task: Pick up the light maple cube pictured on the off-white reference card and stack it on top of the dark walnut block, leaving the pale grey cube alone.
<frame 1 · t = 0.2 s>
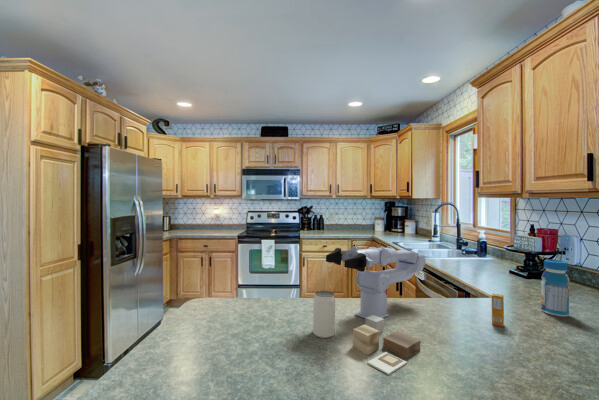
hand: (335, 261, 88), 21 cm above the countertop, tool horizontal, fingers open, 7 cm apart
supplement bottle: (554, 313, 110), on the countertop
maple cube: (365, 348, 78), on the countertop
supplement box: (497, 325, 97), on the countertop
reference card: (387, 363, 70), on the countertop
can: (323, 334, 86), on the countertop
walnut block: (401, 349, 78), on the countertop
grey cube: (374, 331, 89), on the countertop
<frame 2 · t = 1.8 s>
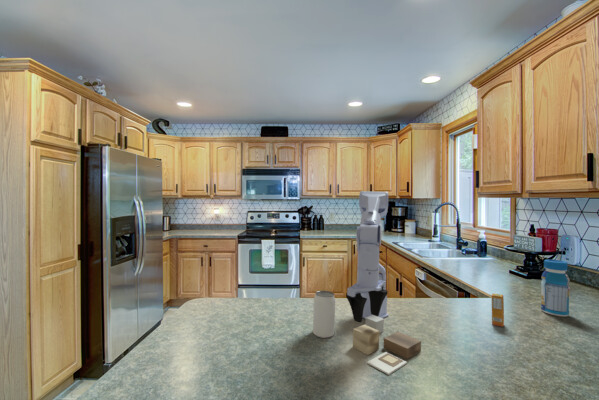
hand: (366, 318, 78), 8 cm above the countertop, tool pointing down, fingers open, 7 cm apart
nothing on the countertop moved.
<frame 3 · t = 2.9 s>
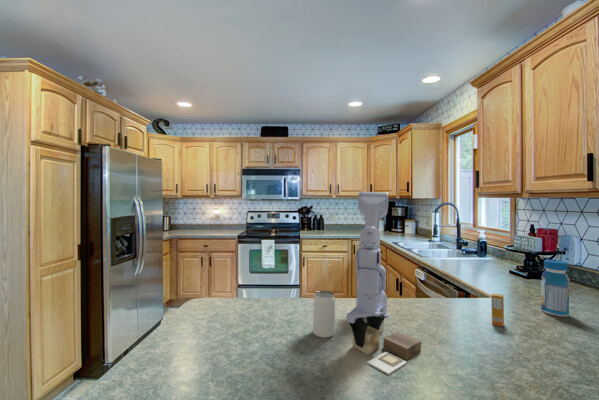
hand: (365, 342, 78), 1 cm above the countertop, tool pointing down, fingers closed on maple cube, 5 cm apart
maple cube: (365, 347, 78), on the countertop, touching gripper
everything else where it was.
when the fingers open (5 cm above the countertop, at t = 6.7 s): maple cube drops 1 cm, resting on walnut block.
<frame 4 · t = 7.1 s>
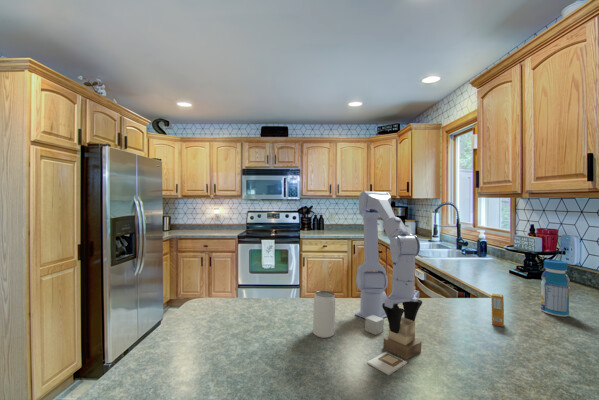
hand: (402, 328, 78), 5 cm above the countertop, tool pointing down, fingers open, 7 cm apart
maple cube: (401, 339, 78), point 3 cm above the countertop, touching walnut block
walnut block: (402, 351, 78), on the countertop, touching maple cube
everything else where it was.
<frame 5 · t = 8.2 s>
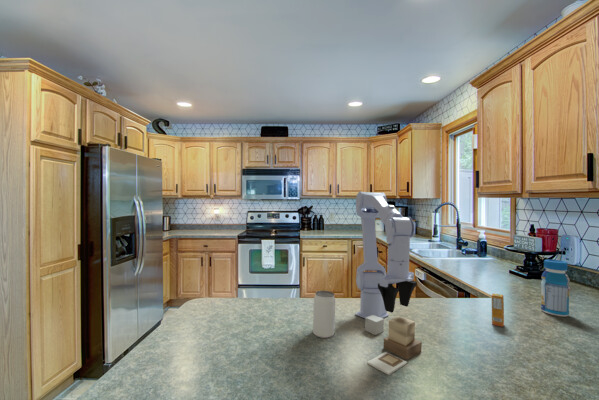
hand: (396, 308, 80), 10 cm above the countertop, tool pointing down, fingers open, 7 cm apart
maple cube: (401, 339, 78), point 3 cm above the countertop
walnut block: (402, 351, 77), on the countertop
everything else where it was.
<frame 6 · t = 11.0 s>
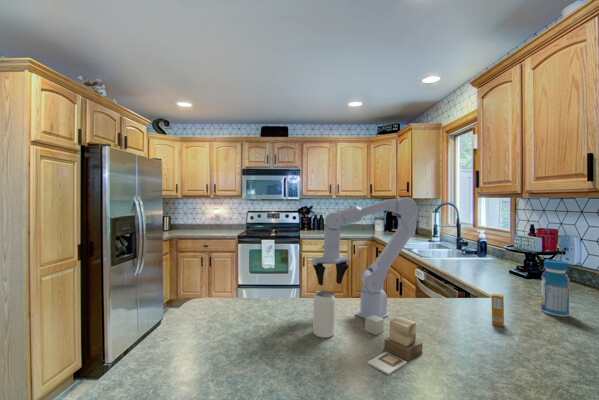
hand: (329, 283, 102), 10 cm above the countertop, tool pointing down, fingers open, 7 cm apart
nothing on the countertop moved.
at the end: maple cube 0.4 cm off-centre on the walnut block, point 3.0 cm above the walnut block's base; maple cube tilted 1°; the gripper is holding nothing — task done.
